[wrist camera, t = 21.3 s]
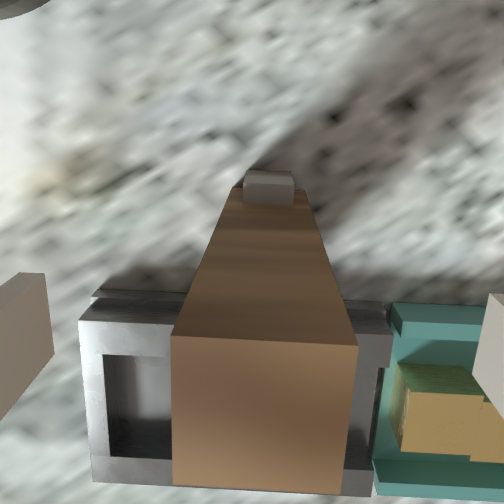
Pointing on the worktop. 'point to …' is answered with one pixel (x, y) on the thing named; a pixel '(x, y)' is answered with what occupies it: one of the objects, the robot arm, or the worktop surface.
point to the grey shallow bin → (159, 387)
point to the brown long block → (263, 351)
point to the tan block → (488, 433)
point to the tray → (384, 442)
